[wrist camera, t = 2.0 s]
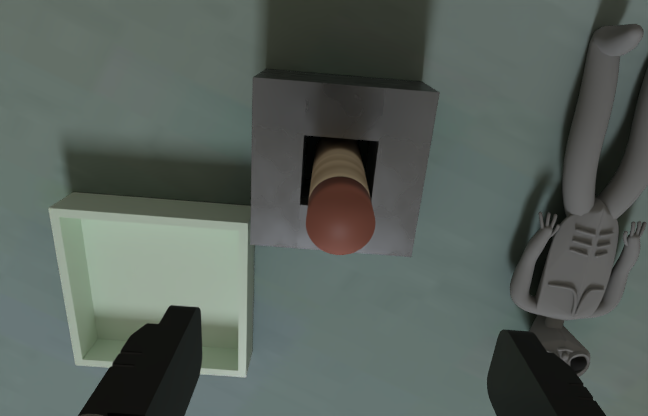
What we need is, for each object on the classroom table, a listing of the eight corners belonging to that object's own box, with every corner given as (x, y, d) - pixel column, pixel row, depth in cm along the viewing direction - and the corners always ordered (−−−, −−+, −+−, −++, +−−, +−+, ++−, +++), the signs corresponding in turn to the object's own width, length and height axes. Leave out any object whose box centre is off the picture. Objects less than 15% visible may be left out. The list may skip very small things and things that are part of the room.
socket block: (265, 68, 28) (252, 77, 24) (422, 81, 28) (439, 92, 24) (262, 213, 32) (250, 244, 27) (399, 223, 32) (411, 256, 27)
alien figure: (759, 34, 23) (609, 403, 32) (689, 36, 28) (574, 359, 37) (611, 18, 23) (500, 393, 32) (565, 23, 28) (478, 350, 36)
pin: (316, 127, 30) (308, 188, 18) (361, 131, 30) (379, 194, 18) (313, 170, 31) (303, 252, 20) (356, 173, 31) (371, 257, 20)
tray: (73, 192, 32) (48, 208, 29) (255, 206, 32) (247, 223, 29) (95, 339, 37) (75, 365, 34) (252, 350, 37) (245, 377, 34)
